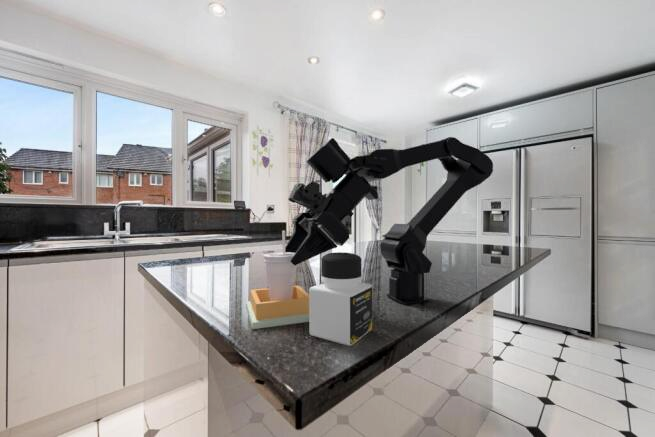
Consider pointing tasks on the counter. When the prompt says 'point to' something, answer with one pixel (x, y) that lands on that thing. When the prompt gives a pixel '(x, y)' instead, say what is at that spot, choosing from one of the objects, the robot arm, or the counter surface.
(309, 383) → the counter surface
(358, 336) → the medicine bottle
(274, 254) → the smoothie
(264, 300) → the box
